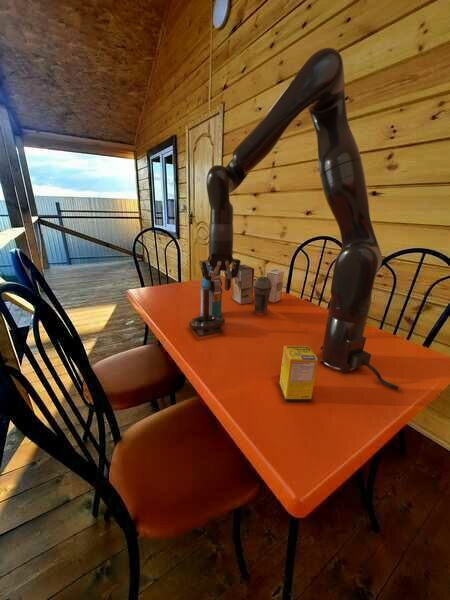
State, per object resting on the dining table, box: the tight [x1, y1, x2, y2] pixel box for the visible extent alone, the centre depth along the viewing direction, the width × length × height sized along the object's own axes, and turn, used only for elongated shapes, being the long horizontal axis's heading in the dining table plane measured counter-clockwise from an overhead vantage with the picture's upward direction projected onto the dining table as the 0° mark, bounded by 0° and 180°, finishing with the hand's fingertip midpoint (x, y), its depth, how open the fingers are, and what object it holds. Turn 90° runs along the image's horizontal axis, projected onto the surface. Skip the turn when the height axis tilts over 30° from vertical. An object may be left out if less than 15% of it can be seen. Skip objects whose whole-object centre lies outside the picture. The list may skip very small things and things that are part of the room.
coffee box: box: [231, 264, 255, 305], centre depth 117 cm, size 9×6×16 cm
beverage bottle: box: [199, 264, 223, 316], centre depth 97 cm, size 8×8×20 cm
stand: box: [188, 288, 224, 338], centre depth 84 cm, size 9×9×16 cm
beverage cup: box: [253, 265, 272, 314], centre depth 101 cm, size 7×7×20 cm
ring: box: [189, 315, 226, 330], centre depth 86 cm, size 12×12×2 cm
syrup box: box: [266, 268, 285, 304], centre depth 119 cm, size 6×6×14 cm
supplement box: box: [278, 345, 319, 402], centre depth 57 cm, size 6×6×11 cm
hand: (219, 290), depth 84 cm, fingers open, 4 cm apart
